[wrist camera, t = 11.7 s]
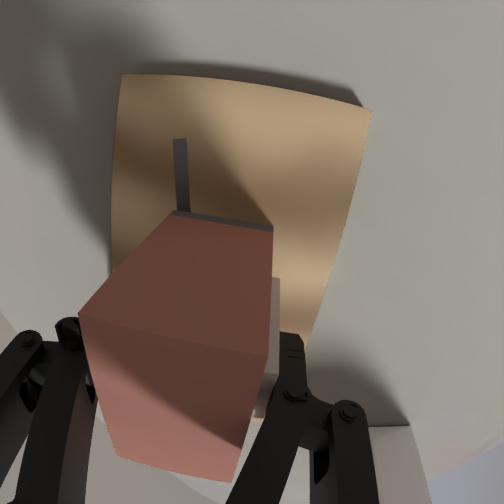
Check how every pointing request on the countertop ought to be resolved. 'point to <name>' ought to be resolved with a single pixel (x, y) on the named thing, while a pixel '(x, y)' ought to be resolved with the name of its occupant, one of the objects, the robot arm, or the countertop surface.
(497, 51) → the countertop surface
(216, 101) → the board
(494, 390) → the countertop surface
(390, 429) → the jar
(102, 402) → the block
